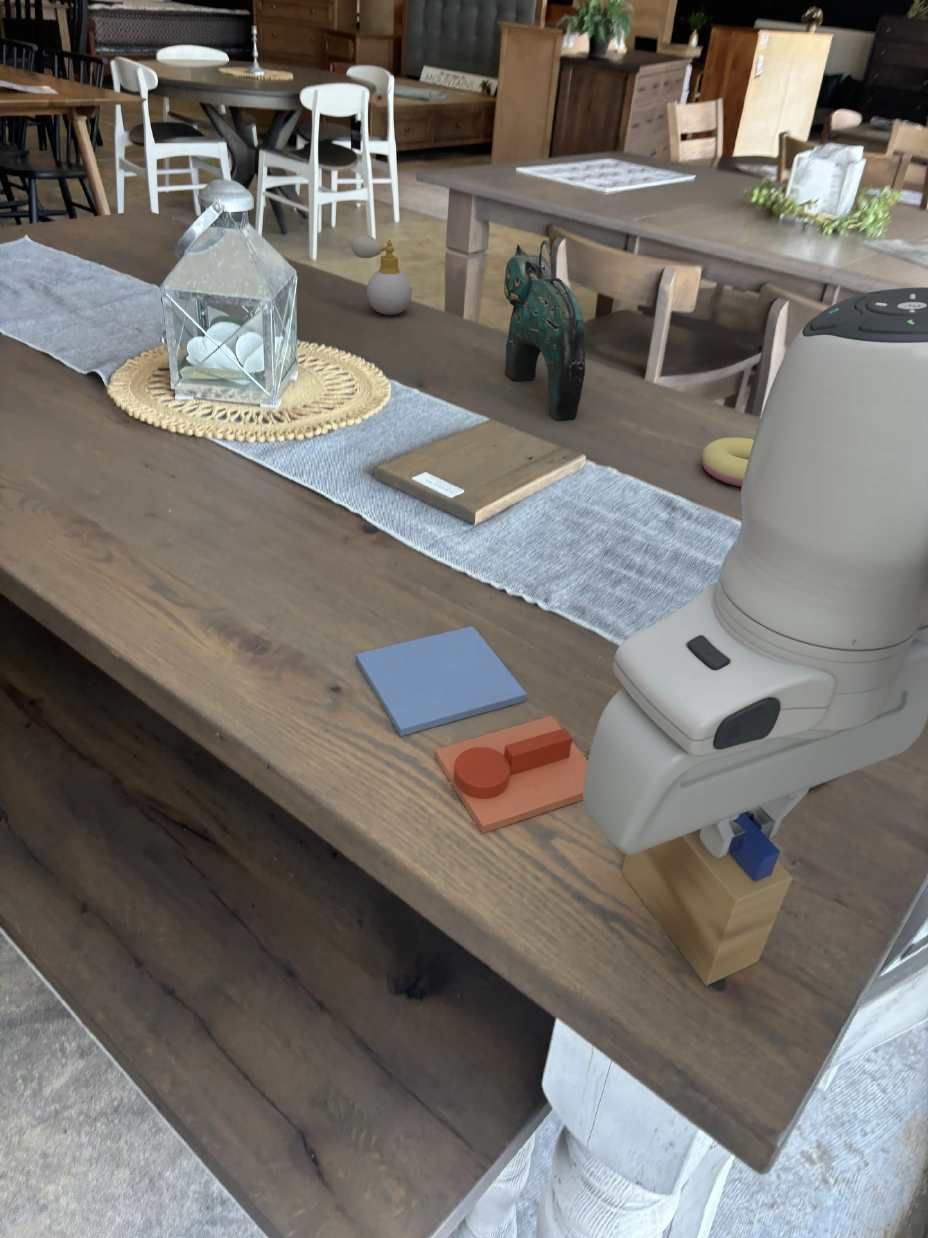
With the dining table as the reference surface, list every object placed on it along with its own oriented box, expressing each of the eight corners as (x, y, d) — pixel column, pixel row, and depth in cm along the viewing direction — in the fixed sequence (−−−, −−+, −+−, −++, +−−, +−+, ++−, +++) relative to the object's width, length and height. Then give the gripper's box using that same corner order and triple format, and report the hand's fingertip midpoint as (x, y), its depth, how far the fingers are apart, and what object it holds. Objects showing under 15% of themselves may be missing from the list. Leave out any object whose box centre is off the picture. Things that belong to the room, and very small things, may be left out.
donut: (772, 512, 106) (781, 470, 113) (789, 482, 103) (796, 439, 109) (691, 484, 108) (704, 444, 114) (704, 453, 104) (716, 413, 111)
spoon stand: (758, 962, 55) (793, 877, 50) (705, 986, 53) (736, 901, 49) (670, 853, 61) (693, 769, 57) (620, 872, 60) (640, 787, 55)
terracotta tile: (605, 792, 66) (607, 784, 65) (482, 834, 62) (482, 826, 61) (550, 723, 71) (551, 715, 71) (434, 757, 68) (434, 749, 67)
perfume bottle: (414, 319, 151) (416, 243, 144) (356, 320, 149) (355, 243, 142) (407, 305, 157) (408, 232, 150) (351, 306, 155) (349, 231, 148)
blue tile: (526, 701, 73) (527, 693, 73) (400, 736, 69) (400, 729, 69) (472, 632, 81) (473, 625, 80) (355, 661, 76) (355, 653, 76)
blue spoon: (791, 867, 50) (800, 843, 49) (734, 890, 49) (742, 866, 48) (692, 761, 57) (698, 737, 56) (639, 779, 55) (644, 755, 54)
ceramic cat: (493, 370, 134) (503, 226, 122) (533, 367, 135) (547, 224, 124) (547, 424, 119) (565, 265, 107) (592, 420, 120) (614, 263, 109)
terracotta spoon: (552, 735, 69) (555, 715, 68) (579, 770, 66) (583, 750, 65) (444, 767, 66) (445, 747, 64) (468, 805, 63) (470, 785, 62)
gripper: (906, 567, 49) (833, 752, 57) (585, 654, 41) (553, 854, 50) (1006, 631, 45) (912, 823, 53) (667, 742, 37) (617, 947, 45)
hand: (736, 839), depth 51 cm, fingers closed on blue spoon, 1 cm apart
